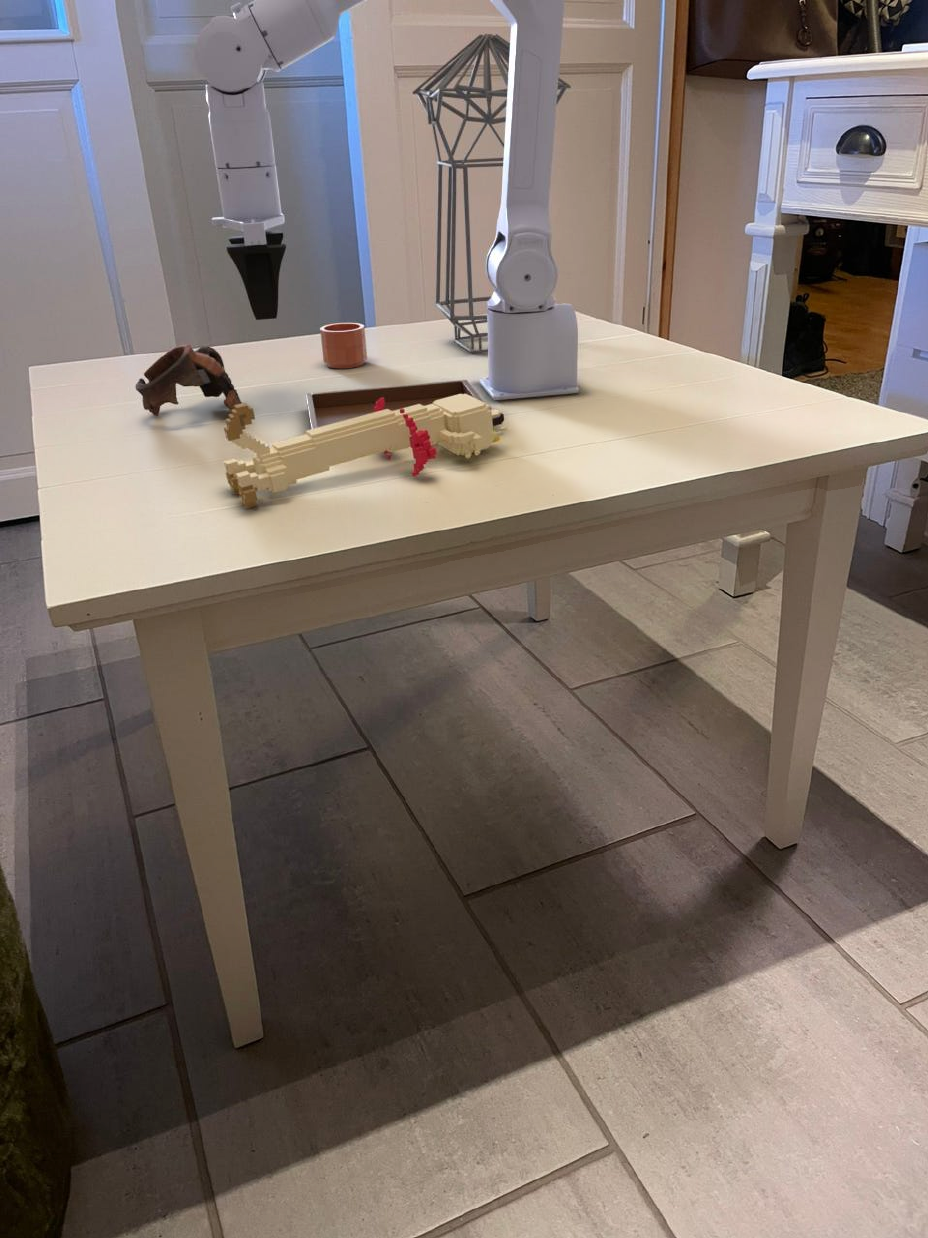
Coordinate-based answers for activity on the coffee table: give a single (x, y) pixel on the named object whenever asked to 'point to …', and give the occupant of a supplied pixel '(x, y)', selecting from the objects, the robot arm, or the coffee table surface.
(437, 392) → the tray
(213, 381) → the broken pottery shard
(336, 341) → the cup
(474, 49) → the geometric lantern
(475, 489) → the coffee table surface
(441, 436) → the cat figure
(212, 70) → the robot arm
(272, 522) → the coffee table surface
